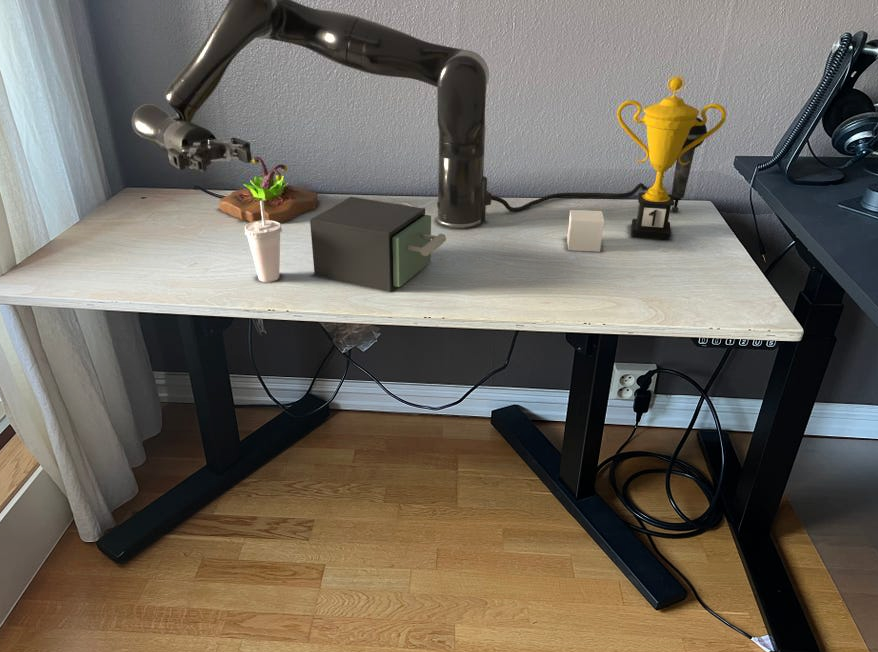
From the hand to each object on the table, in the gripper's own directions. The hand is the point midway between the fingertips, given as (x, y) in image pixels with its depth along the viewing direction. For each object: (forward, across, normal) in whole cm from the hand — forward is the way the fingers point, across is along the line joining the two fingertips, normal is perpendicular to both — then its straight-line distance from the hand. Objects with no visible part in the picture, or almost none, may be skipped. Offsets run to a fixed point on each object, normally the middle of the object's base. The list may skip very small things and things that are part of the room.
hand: (227, 161), depth 126 cm
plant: (-23, +19, +19) cm, 35 cm away
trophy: (+41, +71, +18) cm, 84 cm away
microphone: (+36, +86, +18) cm, 95 cm away
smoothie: (+11, 0, +19) cm, 22 cm away
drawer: (+24, +18, +17) cm, 35 cm away
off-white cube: (+36, +56, +18) cm, 69 cm away
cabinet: (+20, +16, +18) cm, 32 cm away
